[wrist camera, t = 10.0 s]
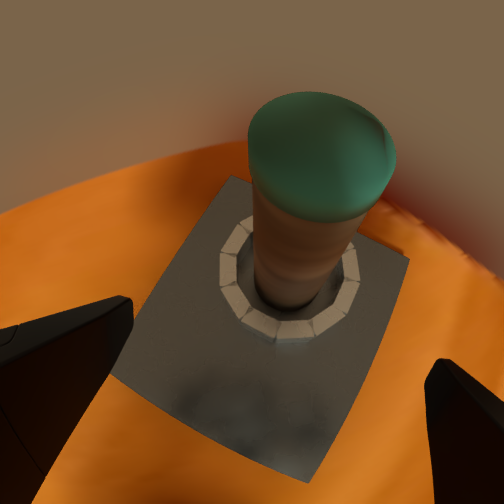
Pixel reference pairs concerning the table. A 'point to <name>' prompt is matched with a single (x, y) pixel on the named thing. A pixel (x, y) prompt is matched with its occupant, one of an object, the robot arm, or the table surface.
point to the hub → (259, 342)
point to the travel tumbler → (311, 189)
